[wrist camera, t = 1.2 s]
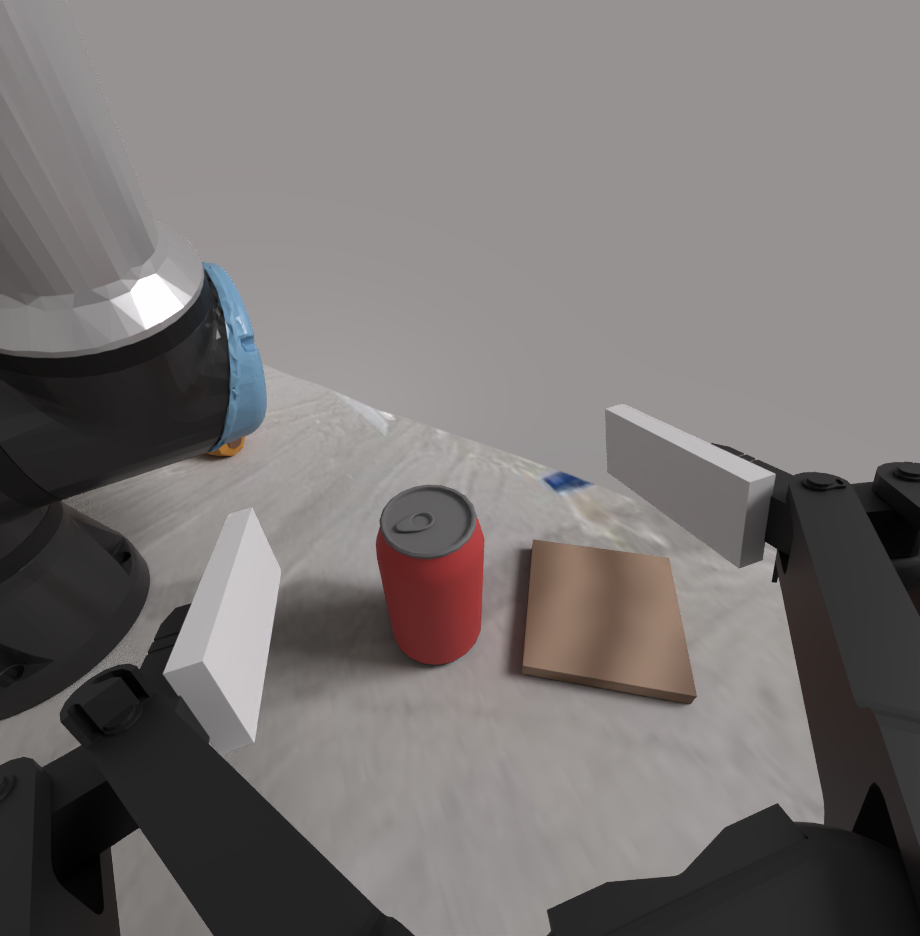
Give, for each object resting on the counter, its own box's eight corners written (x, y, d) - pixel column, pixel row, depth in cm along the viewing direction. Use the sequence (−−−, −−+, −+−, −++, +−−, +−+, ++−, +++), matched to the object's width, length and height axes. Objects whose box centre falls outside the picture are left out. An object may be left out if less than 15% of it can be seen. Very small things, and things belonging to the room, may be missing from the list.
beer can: (383, 603, 35) (359, 494, 27) (462, 577, 37) (460, 467, 29) (407, 683, 30) (386, 580, 22) (495, 649, 32) (505, 541, 24)
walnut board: (521, 673, 31) (522, 665, 30) (531, 548, 39) (533, 539, 38) (690, 703, 29) (696, 696, 28) (664, 566, 37) (668, 557, 37)
